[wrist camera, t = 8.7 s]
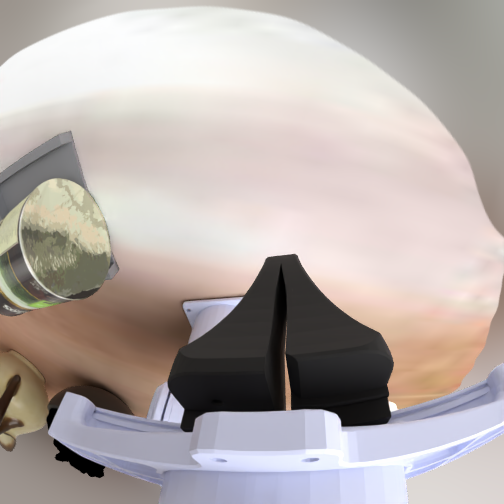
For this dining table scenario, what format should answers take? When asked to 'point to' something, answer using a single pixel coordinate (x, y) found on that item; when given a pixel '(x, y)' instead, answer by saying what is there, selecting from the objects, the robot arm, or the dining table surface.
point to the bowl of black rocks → (99, 400)
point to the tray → (43, 175)
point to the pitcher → (20, 398)
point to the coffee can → (52, 248)
